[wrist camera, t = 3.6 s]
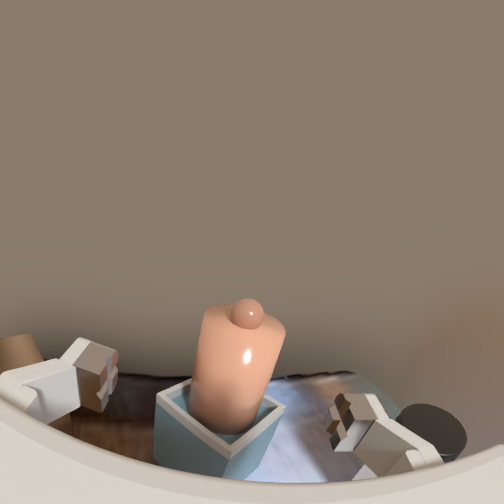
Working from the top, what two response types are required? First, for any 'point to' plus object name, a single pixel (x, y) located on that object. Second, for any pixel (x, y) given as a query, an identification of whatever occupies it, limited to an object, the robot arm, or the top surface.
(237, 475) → the tea tin
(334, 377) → the top surface
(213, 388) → the pink knobbed canister
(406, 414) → the jar
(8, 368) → the walnut block
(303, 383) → the top surface
